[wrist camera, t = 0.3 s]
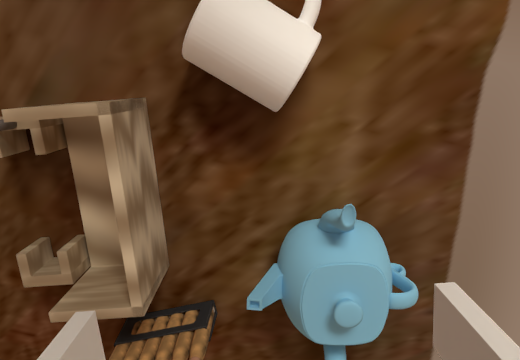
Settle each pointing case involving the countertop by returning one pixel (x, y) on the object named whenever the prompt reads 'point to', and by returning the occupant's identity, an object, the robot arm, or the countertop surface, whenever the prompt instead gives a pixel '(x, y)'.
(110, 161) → the carcass
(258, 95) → the mug
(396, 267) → the teapot
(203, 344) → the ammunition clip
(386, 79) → the countertop surface
